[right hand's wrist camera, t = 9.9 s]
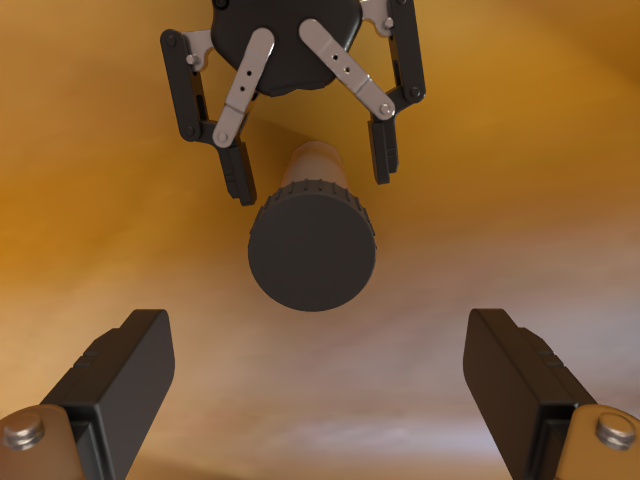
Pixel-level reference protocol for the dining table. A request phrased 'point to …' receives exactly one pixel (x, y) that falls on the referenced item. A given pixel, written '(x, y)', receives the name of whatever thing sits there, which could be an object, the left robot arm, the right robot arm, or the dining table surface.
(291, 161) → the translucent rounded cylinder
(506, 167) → the dining table surface
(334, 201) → the lid
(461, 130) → the dining table surface
